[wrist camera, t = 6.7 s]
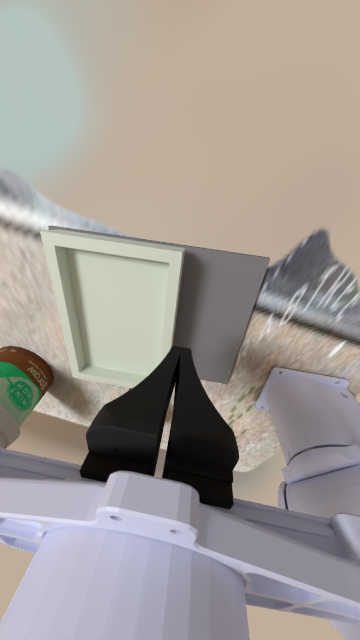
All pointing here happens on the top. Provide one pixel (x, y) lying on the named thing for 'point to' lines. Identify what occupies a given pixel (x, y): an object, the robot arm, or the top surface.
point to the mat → (212, 304)
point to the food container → (20, 389)
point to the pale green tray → (114, 303)
